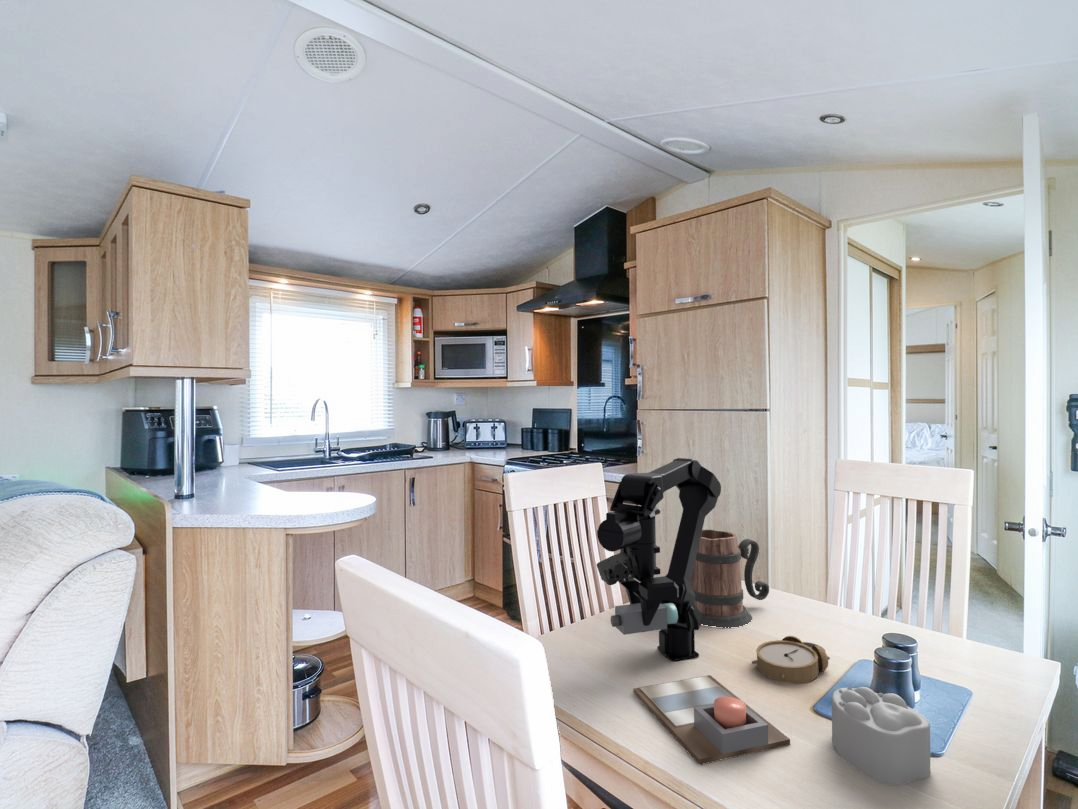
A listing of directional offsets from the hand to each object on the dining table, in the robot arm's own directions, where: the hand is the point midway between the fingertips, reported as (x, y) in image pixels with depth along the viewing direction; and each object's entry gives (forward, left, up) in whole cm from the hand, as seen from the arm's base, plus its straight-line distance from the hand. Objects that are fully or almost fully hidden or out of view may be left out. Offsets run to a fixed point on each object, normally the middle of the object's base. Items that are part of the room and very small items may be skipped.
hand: (641, 621), depth 113 cm
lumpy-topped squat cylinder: (-22, +33, -11) cm, 41 cm away
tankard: (-35, -23, -11) cm, 43 cm away
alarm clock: (-30, +6, -12) cm, 33 cm away
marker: (0, 0, -1) cm, 1 cm away
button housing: (-4, +23, -11) cm, 25 cm away
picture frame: (-4, +16, -11) cm, 20 cm away
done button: (-4, +23, -8) cm, 24 cm away
